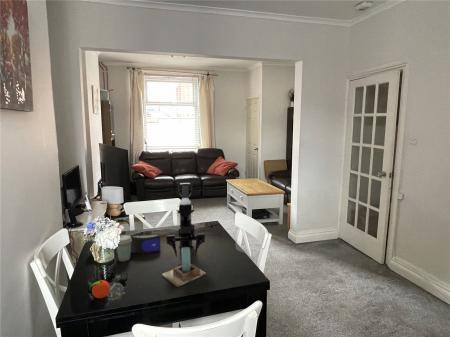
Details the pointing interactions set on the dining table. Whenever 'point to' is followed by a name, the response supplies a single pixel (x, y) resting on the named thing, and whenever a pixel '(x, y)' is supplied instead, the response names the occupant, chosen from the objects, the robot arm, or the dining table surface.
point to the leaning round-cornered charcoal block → (145, 244)
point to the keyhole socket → (183, 275)
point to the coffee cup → (124, 248)
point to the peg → (185, 259)
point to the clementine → (100, 289)
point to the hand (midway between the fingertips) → (186, 255)
